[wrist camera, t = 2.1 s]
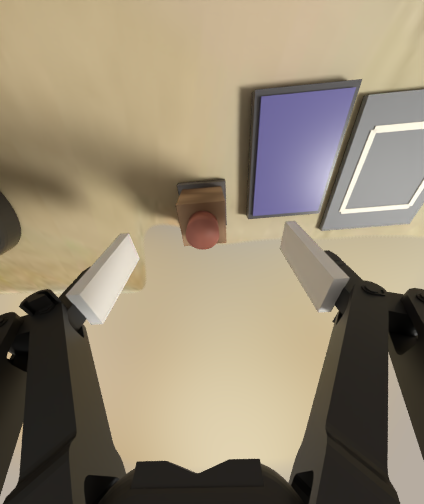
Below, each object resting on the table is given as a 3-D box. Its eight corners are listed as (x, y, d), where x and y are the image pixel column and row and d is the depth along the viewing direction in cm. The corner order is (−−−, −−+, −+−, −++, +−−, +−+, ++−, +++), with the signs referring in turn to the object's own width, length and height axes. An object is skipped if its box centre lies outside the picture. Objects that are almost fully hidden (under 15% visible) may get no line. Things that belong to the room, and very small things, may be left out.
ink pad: (246, 215, 22) (248, 220, 21) (252, 92, 15) (256, 89, 14) (314, 209, 22) (320, 214, 21) (352, 82, 15) (365, 78, 14)
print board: (319, 228, 24) (321, 231, 23) (364, 95, 16) (370, 94, 15) (405, 221, 24) (410, 224, 23) (496, 82, 15) (508, 81, 15)
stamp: (186, 225, 23) (177, 261, 17) (178, 183, 20) (164, 208, 13) (225, 221, 23) (233, 257, 16) (224, 179, 20) (233, 202, 13)
